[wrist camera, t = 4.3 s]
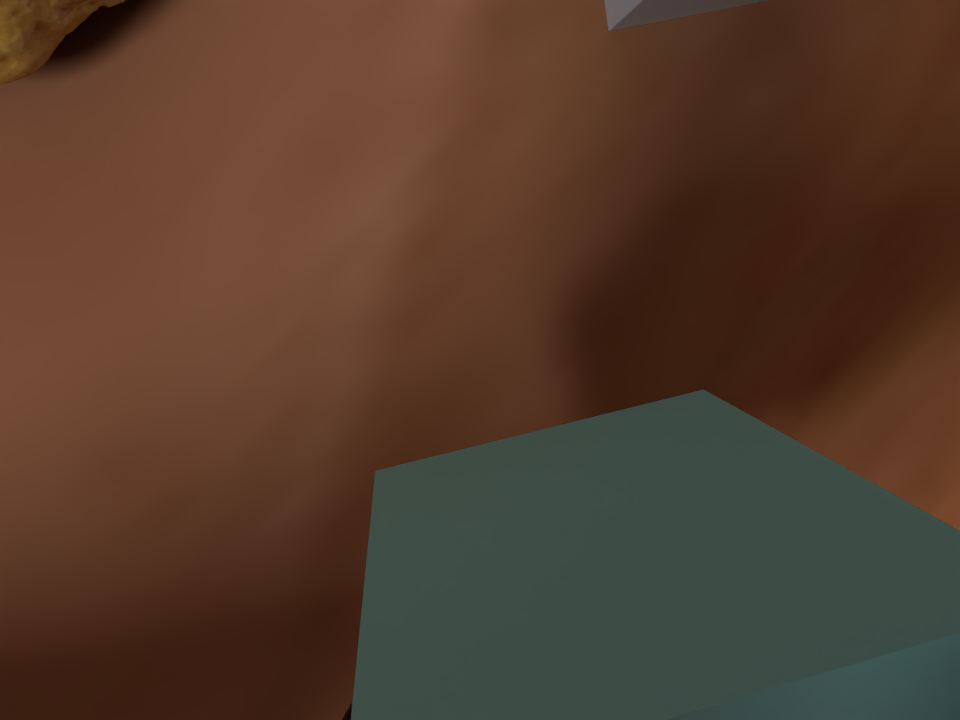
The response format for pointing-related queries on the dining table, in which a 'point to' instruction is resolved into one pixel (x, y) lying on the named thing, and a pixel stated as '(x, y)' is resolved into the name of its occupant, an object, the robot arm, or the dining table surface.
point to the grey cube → (661, 10)
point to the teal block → (654, 580)
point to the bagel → (37, 31)
